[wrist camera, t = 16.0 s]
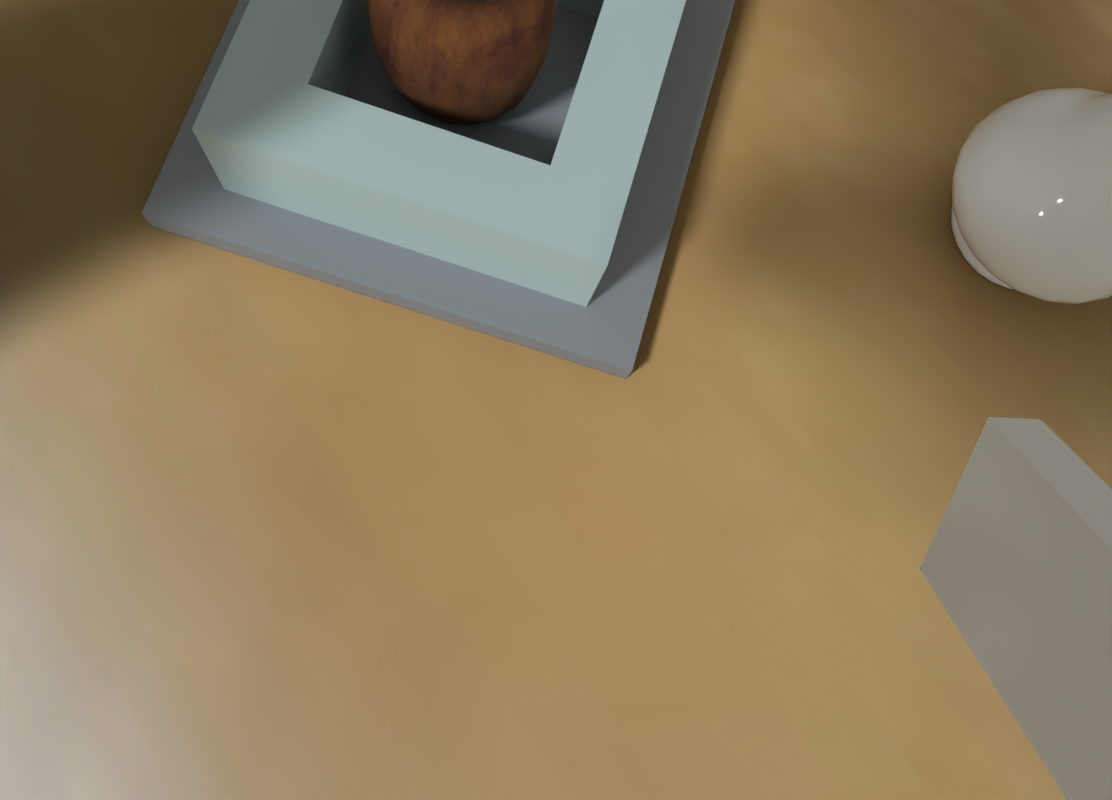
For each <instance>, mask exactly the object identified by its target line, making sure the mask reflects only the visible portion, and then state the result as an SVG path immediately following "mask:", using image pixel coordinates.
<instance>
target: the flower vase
mask: <svg viewBox="0 0 1112 800" xmlns="http://www.w3.org/2000/svg"><path fill="white" fill-rule="evenodd" d="M952 197H953V206H952V210H951V222H952V230H953V234H954V237H955V240H956V244H957V246H958V247H959V249H960V251H961V252H962V254H963V256H964V258H965V259H966V260H967V261H968V263H969V264H970V265H971V266H972V267H973V268H974V269H975V270H976V271H977V272H978V273H979V274H981V275H982V276H984V277H985V278H987V279H988V280H990V281H991V282H993V283H996V284H998V285H1001V286H1003V287H1006V288H1009V289H1014V290H1017V291H1019V292H1022V293H1024V294H1027V295H1030V296H1032V297H1035V298H1037V299H1040V300H1044V301H1052V302H1061V303H1069V304H1077V303H1084V302H1090V301H1096V300H1102V299H1106V298H1108V297H1110V296H1112V94H1110V93H1107V92H1103V91H1097V90H1090V89H1084V88H1076V87H1065V88H1056V89H1047V90H1039V91H1034V92H1032V93H1029V94H1027V95H1024V96H1022V97H1020V98H1017V99H1015V100H1013V101H1010V102H1008V103H1006V104H1003V105H1001V106H999V107H998V108H996V109H995V110H993V111H992V112H991V113H990V114H989V115H988V116H987V117H985V118H984V119H983V120H982V121H981V122H980V123H978V124H977V125H976V126H975V127H974V128H973V130H972V131H971V133H970V135H969V136H968V138H967V140H966V141H965V143H964V145H963V146H962V148H961V150H960V152H959V153H958V158H957V162H956V166H955V170H954V174H953V178H952Z"/></svg>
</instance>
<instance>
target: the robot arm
mask: <svg viewBox="0 0 1112 800" xmlns="http://www.w3.org/2000/svg"><path fill="white" fill-rule="evenodd" d="M920 570H921V571H922V573H923V574H924V576H925V577H926V579H927V581H928V582H929V584H930V585H931V587H932V588H933V590H934V592H935V593H936V595H937V596H938V598H939V599H940V601H941V603H942V604H943V606H944V607H945V609H946V610H947V612H948V614H949V615H950V617H951V618H952V620H953V621H954V623H955V625H956V626H957V628H958V629H959V631H960V632H961V634H962V636H963V637H964V639H965V640H966V642H967V644H968V645H969V647H970V648H971V650H972V651H973V653H974V655H975V656H976V658H977V659H978V661H979V662H980V664H981V666H982V667H983V669H984V670H985V672H986V673H987V675H988V677H989V678H990V680H991V681H992V683H993V684H994V686H995V688H996V689H997V691H998V692H999V694H1000V695H1001V697H1002V699H1003V700H1004V702H1005V703H1006V705H1007V706H1008V708H1009V710H1010V711H1011V713H1012V714H1013V716H1014V717H1015V719H1016V721H1017V722H1018V724H1019V725H1020V727H1021V728H1022V730H1023V732H1024V733H1025V735H1026V736H1027V738H1028V739H1029V741H1030V743H1031V744H1032V746H1033V747H1034V749H1035V750H1036V752H1037V754H1038V755H1039V757H1040V758H1041V760H1042V761H1043V763H1044V765H1045V766H1046V768H1047V769H1048V771H1049V772H1050V774H1051V776H1052V777H1053V779H1054V780H1055V782H1056V783H1057V785H1058V787H1059V788H1060V790H1061V791H1062V793H1063V794H1064V796H1065V798H1066V799H1067V800H1112V489H1111V488H1110V487H1109V486H1108V485H1107V484H1106V483H1105V482H1104V481H1103V480H1102V479H1101V478H1100V477H1099V476H1098V475H1097V474H1096V473H1095V472H1094V471H1093V470H1092V469H1091V468H1090V467H1089V466H1088V465H1087V464H1086V463H1085V462H1084V461H1083V460H1082V459H1081V458H1080V457H1079V456H1078V455H1077V454H1076V453H1074V452H1073V451H1072V450H1071V449H1070V448H1069V447H1068V446H1067V445H1066V444H1065V443H1064V442H1063V441H1062V440H1061V439H1060V438H1059V437H1058V436H1057V435H1056V434H1055V433H1054V432H1053V431H1052V430H1051V429H1050V428H1049V427H1048V426H1047V425H1046V424H1045V423H1044V422H1043V421H1042V420H1041V419H1024V418H1000V417H988V419H987V421H986V423H985V426H984V428H983V430H982V432H981V434H980V437H979V439H978V441H977V443H976V445H975V448H974V450H973V452H972V454H971V456H970V459H969V461H968V463H967V465H966V468H965V470H964V472H963V474H962V476H961V479H960V481H959V483H958V485H957V487H956V490H955V492H954V494H953V496H952V498H951V501H950V503H949V505H948V507H947V510H946V512H945V514H944V516H943V518H942V521H941V523H940V525H939V527H938V529H937V532H936V534H935V536H934V538H933V540H932V543H931V545H930V547H929V549H928V552H927V554H926V556H925V558H924V560H923V563H922V565H921V567H920Z"/></svg>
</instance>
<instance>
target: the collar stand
mask: <svg viewBox="0 0 1112 800" xmlns="http://www.w3.org/2000/svg"><path fill="white" fill-rule="evenodd" d="M734 3H735V0H558V3H557V9H556V14H555V20H554V26H553V31H552V36H551V40H550V45H549V48H548V51H547V54H546V58H545V61H544V63H543V65H542V67H541V69H540V71H539V73H538V75H537V77H536V78H535V80H534V82H533V83H532V85H531V87H530V88H529V90H528V92H527V93H526V95H525V97H524V98H523V100H522V101H521V102H520V103H519V104H518V105H517V107H516V108H514V109H512V110H510V111H508V112H507V113H505V114H503V115H501V116H499V117H498V118H496V119H494V120H493V121H491V122H487V123H481V124H474V125H462V124H450V123H446V122H444V121H441V120H438V119H436V118H433V117H430V116H428V115H427V114H425V113H424V112H422V111H421V110H419V109H418V108H416V107H415V106H413V105H412V104H411V103H409V102H408V101H407V100H406V99H405V98H404V97H403V96H402V94H401V93H400V92H399V90H398V89H397V88H396V86H395V85H394V84H393V82H392V81H391V79H390V78H389V76H388V75H387V74H386V72H385V71H384V69H383V68H382V66H381V63H380V60H379V58H378V55H377V53H376V50H375V46H374V41H373V36H372V31H371V24H370V17H369V9H368V2H367V0H238V3H237V5H236V7H235V9H234V11H233V14H232V16H231V18H230V20H229V22H228V25H227V27H226V29H225V31H224V33H223V35H222V38H221V40H220V42H219V44H218V46H217V49H216V51H215V53H214V55H213V57H212V60H211V62H210V64H209V66H208V68H207V70H206V73H205V75H204V77H203V79H202V81H201V84H200V86H199V88H198V90H197V92H196V95H195V97H194V99H193V101H192V103H191V106H190V108H189V110H188V112H187V114H186V116H185V119H184V121H183V123H182V125H181V127H180V130H179V132H178V134H177V136H176V138H175V141H174V143H173V145H172V147H171V149H170V151H169V154H168V156H167V158H166V160H165V162H164V165H163V167H162V169H161V171H160V173H159V176H158V178H157V180H156V182H155V184H154V186H153V189H152V191H151V193H150V195H149V197H148V200H147V202H146V204H145V206H144V208H143V211H142V213H141V214H142V215H143V216H144V218H145V219H146V220H147V222H148V223H149V224H150V225H151V226H152V227H155V228H158V229H161V230H164V231H167V232H170V233H173V234H176V235H180V236H183V237H186V238H189V239H192V240H195V241H198V242H201V243H205V244H208V245H211V246H214V247H217V248H220V249H223V250H226V251H229V252H233V253H236V254H239V255H242V256H245V257H248V258H251V259H254V260H258V261H261V262H264V263H267V264H270V265H273V266H276V267H279V268H282V269H286V270H289V271H292V272H295V273H298V274H301V275H304V276H307V277H311V278H314V279H317V280H320V281H323V282H326V283H329V284H332V285H335V286H339V287H342V288H345V289H348V290H351V291H354V292H357V293H360V294H364V295H367V296H370V297H373V298H376V299H379V300H382V301H385V302H388V303H392V304H395V305H398V306H401V307H404V308H407V309H410V310H413V311H417V312H420V313H423V314H426V315H429V316H432V317H435V318H438V319H441V320H445V321H448V322H451V323H454V324H457V325H460V326H463V327H466V328H470V329H473V330H476V331H479V332H482V333H485V334H488V335H491V336H494V337H498V338H501V339H504V340H507V341H510V342H513V343H516V344H519V345H523V346H526V347H529V348H532V349H535V350H538V351H541V352H544V353H547V354H551V355H554V356H557V357H560V358H563V359H566V360H569V361H572V362H576V363H579V364H582V365H585V366H588V367H591V368H594V369H597V370H600V371H604V372H607V373H610V374H613V375H616V376H619V377H622V378H625V379H626V378H627V377H628V375H629V374H630V373H631V372H632V370H633V366H634V363H635V359H636V355H637V352H638V348H639V345H640V341H641V337H642V334H643V330H644V327H645V323H646V319H647V316H648V312H649V309H650V305H651V301H652V298H653V294H654V291H655V287H656V284H657V280H658V276H659V273H660V269H661V266H662V262H663V258H664V255H665V251H666V248H667V244H668V240H669V237H670V233H671V230H672V226H673V222H674V219H675V215H676V212H677V208H678V205H679V201H680V197H681V194H682V190H683V187H684V183H685V179H686V176H687V172H688V169H689V165H690V161H691V158H692V154H693V151H694V147H695V143H696V140H697V136H698V133H699V129H700V125H701V122H702V118H703V115H704V111H705V108H706V104H707V100H708V97H709V93H710V90H711V86H712V82H713V79H714V75H715V72H716V68H717V64H718V61H719V57H720V54H721V50H722V46H723V43H724V39H725V36H726V32H727V28H728V25H729V21H730V18H731V14H732V11H733V7H734Z"/></svg>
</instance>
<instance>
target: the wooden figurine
mask: <svg viewBox="0 0 1112 800" xmlns="http://www.w3.org/2000/svg"><path fill="white" fill-rule="evenodd" d="M367 2H368V9H369V17H370V24H371V31H372V36H373V41H374V46H375V50H376V53H377V55H378V58H379V60H380V63H381V66H382V68H383V69H384V71H385V72H386V74H387V75H388V76H389V78H390V79H391V81H392V82H393V84H394V85H395V86H396V88H397V89H398V90H399V92H400V93H401V94H402V96H403V97H404V98H405V99H406V100H407V101H408V102H409V103H411V104H412V105H413V106H415V107H416V108H418V109H419V110H421V111H422V112H424V113H425V114H427V115H428V116H430V117H433V118H436V119H438V120H441V121H444V122H446V123H450V124H462V125H474V124H481V123H487V122H491V121H493V120H494V119H496V118H498V117H499V116H501V115H503V114H505V113H507V112H508V111H510V110H512V109H514V108H516V107H517V105H518V104H519V103H520V102H521V101H522V100H523V98H524V97H525V95H526V93H527V92H528V90H529V88H530V87H531V85H532V83H533V82H534V80H535V78H536V77H537V75H538V73H539V71H540V69H541V67H542V65H543V63H544V61H545V58H546V54H547V51H548V48H549V45H550V40H551V36H552V31H553V26H554V20H555V14H556V9H557V3H558V0H367Z"/></svg>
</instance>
